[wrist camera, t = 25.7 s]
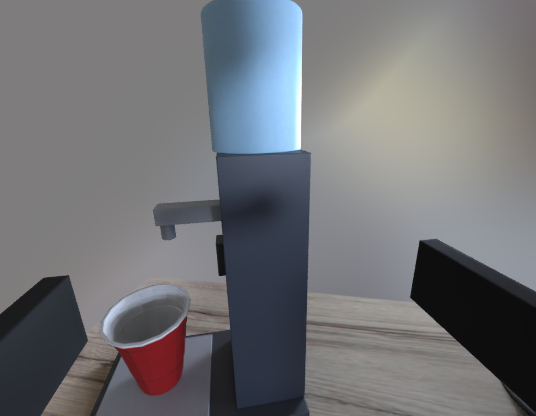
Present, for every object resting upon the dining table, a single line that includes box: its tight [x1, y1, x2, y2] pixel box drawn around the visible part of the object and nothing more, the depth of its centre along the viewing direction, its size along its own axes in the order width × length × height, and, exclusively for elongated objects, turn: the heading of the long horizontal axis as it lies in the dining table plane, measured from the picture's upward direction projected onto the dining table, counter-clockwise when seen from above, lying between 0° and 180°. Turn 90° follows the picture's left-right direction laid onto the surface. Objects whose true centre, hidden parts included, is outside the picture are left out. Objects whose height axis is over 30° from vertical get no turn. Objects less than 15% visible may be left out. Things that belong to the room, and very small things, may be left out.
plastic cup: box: [100, 284, 191, 396], centre depth 35 cm, size 11×11×12 cm
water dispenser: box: [90, 0, 311, 416], centre depth 32 cm, size 28×16×47 cm, turn 100°
